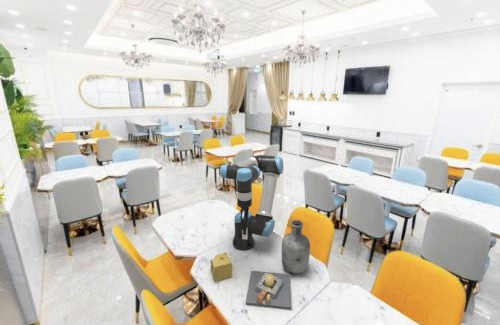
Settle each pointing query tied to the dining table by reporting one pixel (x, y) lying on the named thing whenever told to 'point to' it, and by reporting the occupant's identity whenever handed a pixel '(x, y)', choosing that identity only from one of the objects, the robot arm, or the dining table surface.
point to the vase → (295, 249)
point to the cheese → (221, 267)
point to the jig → (283, 295)
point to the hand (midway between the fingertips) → (245, 238)
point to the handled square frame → (267, 288)
